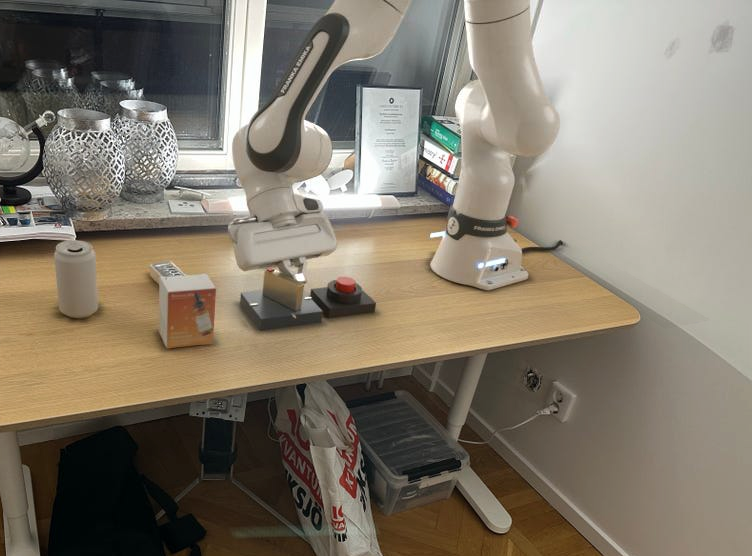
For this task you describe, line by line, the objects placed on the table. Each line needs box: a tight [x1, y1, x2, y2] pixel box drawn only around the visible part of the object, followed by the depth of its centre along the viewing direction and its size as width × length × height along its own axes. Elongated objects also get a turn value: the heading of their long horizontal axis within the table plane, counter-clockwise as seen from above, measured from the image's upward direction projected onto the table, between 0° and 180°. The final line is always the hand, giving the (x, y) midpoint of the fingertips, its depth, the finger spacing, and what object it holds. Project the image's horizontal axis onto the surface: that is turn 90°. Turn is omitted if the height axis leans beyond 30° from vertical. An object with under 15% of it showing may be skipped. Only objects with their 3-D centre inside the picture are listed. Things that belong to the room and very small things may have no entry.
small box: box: [158, 273, 217, 349], centre depth 107 cm, size 8×6×10 cm
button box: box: [309, 279, 377, 320], centre depth 125 cm, size 10×8×4 cm
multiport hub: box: [149, 260, 187, 285], centre depth 124 cm, size 4×11×2 cm, turn 35°
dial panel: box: [239, 289, 324, 332], centre depth 120 cm, size 12×12×3 cm
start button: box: [335, 276, 356, 293], centre depth 124 cm, size 4×4×2 cm
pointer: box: [262, 266, 305, 311], centre depth 118 cm, size 8×2×5 cm, turn 51°
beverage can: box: [53, 239, 99, 319], centre depth 110 cm, size 6×6×12 cm
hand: (299, 284), depth 118 cm, fingers closed
